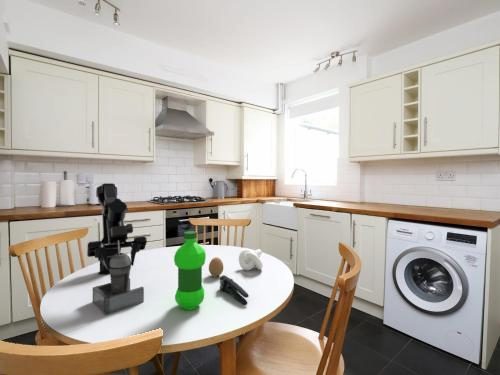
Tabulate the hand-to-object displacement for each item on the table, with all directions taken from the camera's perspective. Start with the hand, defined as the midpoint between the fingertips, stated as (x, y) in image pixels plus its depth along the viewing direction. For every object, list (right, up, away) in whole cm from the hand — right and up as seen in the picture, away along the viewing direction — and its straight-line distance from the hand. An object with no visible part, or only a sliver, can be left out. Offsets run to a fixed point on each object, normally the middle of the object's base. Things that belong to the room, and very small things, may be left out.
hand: (120, 267), depth 89 cm
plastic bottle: (+24, -13, -1) cm, 27 cm away
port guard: (-1, -12, +1) cm, 12 cm away
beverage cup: (-1, -11, +2) cm, 11 cm away
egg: (+29, -12, +26) cm, 41 cm away
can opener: (+38, -13, +8) cm, 41 cm away
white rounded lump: (+45, -12, +37) cm, 60 cm away
